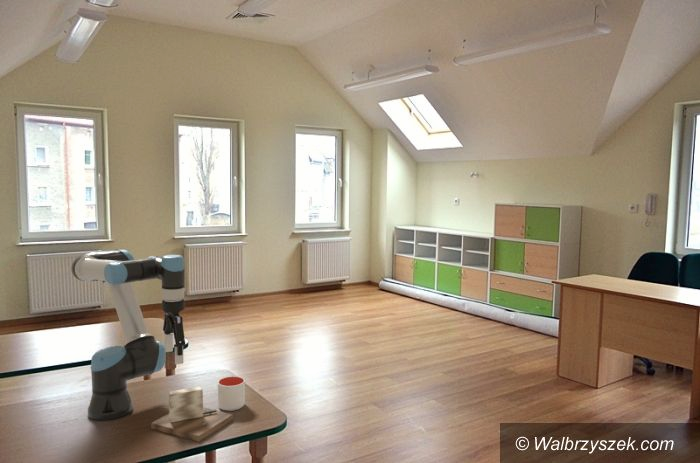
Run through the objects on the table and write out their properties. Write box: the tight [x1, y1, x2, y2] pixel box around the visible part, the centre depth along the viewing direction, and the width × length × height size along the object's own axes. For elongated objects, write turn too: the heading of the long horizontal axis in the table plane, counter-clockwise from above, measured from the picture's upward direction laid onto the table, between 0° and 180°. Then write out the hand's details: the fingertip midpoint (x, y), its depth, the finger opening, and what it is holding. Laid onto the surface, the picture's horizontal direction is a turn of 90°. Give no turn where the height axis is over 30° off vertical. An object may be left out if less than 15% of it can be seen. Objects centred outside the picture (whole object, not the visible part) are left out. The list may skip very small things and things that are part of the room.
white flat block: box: [168, 386, 218, 422], centre depth 191 cm, size 16×3×10 cm, turn 117°
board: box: [150, 406, 234, 443], centre depth 191 cm, size 21×18×2 cm
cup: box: [217, 376, 246, 412], centre depth 205 cm, size 10×10×10 cm
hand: (173, 357), depth 192 cm, fingers open, 13 cm apart
